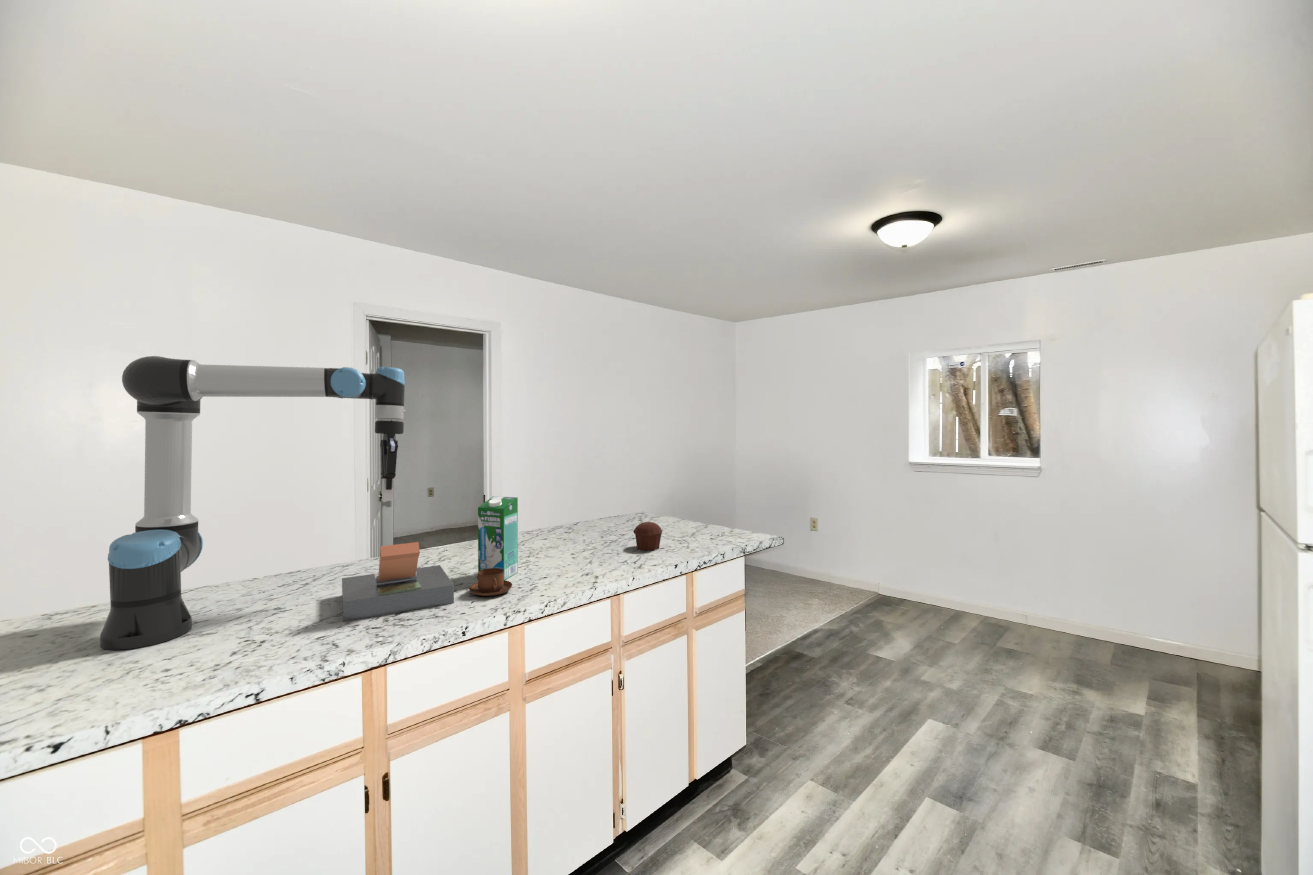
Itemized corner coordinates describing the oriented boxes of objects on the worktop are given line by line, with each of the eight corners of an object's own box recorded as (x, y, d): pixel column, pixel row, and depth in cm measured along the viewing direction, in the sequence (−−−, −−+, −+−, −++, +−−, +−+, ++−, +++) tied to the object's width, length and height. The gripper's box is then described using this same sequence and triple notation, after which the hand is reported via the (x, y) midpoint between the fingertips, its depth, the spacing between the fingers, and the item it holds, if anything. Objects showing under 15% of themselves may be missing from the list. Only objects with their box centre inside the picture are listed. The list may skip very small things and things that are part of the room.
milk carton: (477, 578, 164) (477, 499, 163) (493, 570, 173) (493, 495, 172) (503, 580, 162) (503, 501, 161) (518, 572, 171) (517, 496, 170)
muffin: (650, 542, 213) (650, 518, 213) (668, 548, 205) (668, 523, 204) (627, 547, 205) (627, 522, 205) (644, 553, 197) (645, 526, 197)
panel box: (342, 595, 148) (341, 577, 148) (439, 580, 162) (439, 564, 161) (343, 621, 129) (343, 600, 129) (453, 602, 143) (453, 583, 143)
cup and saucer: (520, 591, 153) (520, 571, 153) (484, 602, 144) (484, 580, 144) (496, 583, 161) (496, 563, 160) (460, 593, 151) (460, 572, 151)
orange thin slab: (376, 576, 144) (378, 546, 135) (415, 571, 149) (420, 541, 140) (376, 587, 142) (379, 556, 133) (416, 581, 148) (421, 551, 138)
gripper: (408, 420, 150) (406, 502, 150) (399, 421, 161) (397, 497, 160) (379, 419, 146) (377, 503, 146) (371, 420, 156) (369, 499, 156)
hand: (387, 500), depth 153 cm, fingers closed
